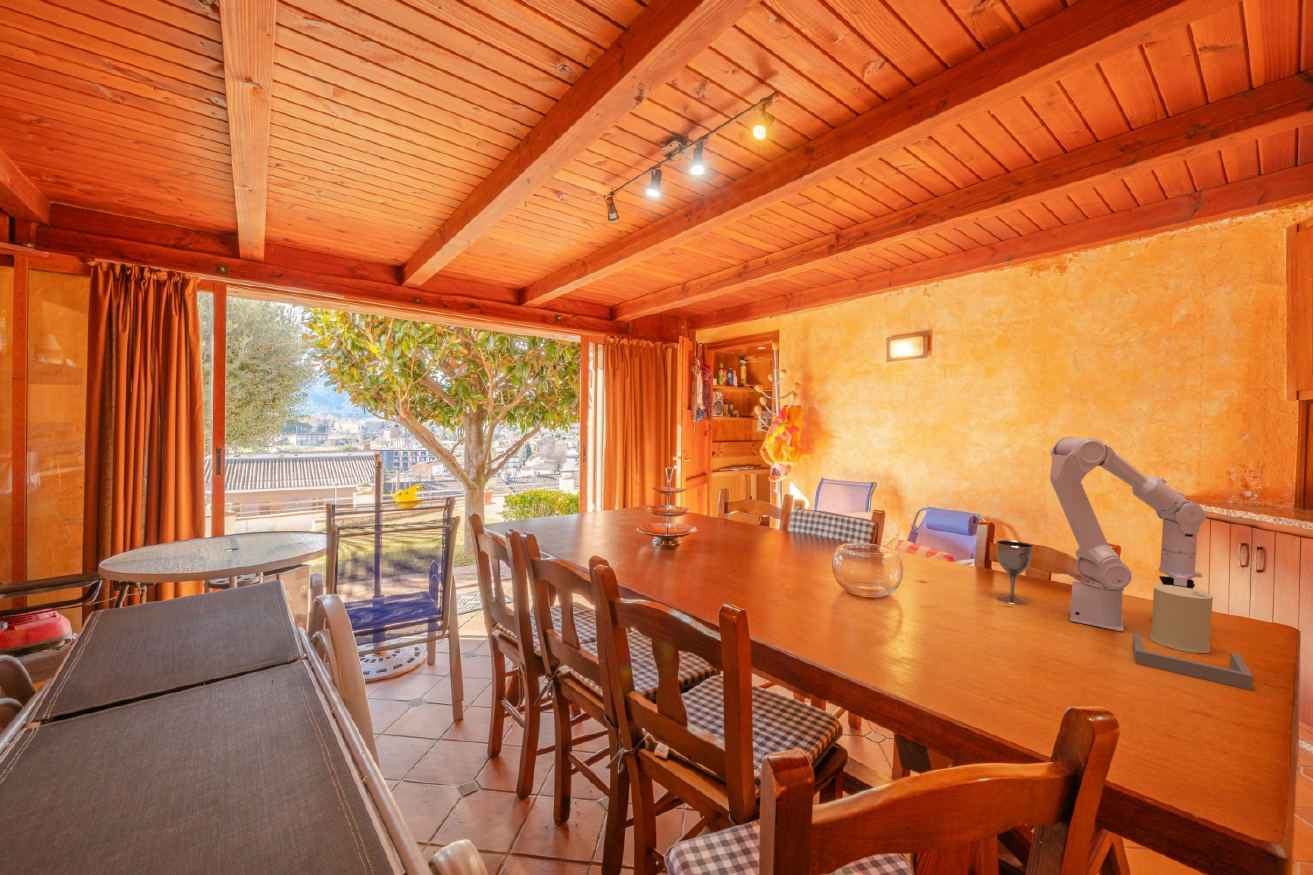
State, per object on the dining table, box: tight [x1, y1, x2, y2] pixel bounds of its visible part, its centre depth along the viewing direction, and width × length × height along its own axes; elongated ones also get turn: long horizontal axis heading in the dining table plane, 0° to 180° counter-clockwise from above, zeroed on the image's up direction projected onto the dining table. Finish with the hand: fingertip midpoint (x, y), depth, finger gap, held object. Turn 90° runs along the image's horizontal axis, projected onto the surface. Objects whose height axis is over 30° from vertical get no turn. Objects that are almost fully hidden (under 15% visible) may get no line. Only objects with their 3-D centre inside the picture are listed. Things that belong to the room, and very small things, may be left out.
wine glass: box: [995, 539, 1034, 606], centre depth 141 cm, size 8×8×15 cm
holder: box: [1132, 632, 1254, 691], centre depth 104 cm, size 15×12×2 cm
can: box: [1149, 584, 1214, 655], centre depth 114 cm, size 9×9×12 cm
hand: (1174, 609), depth 123 cm, fingers closed
